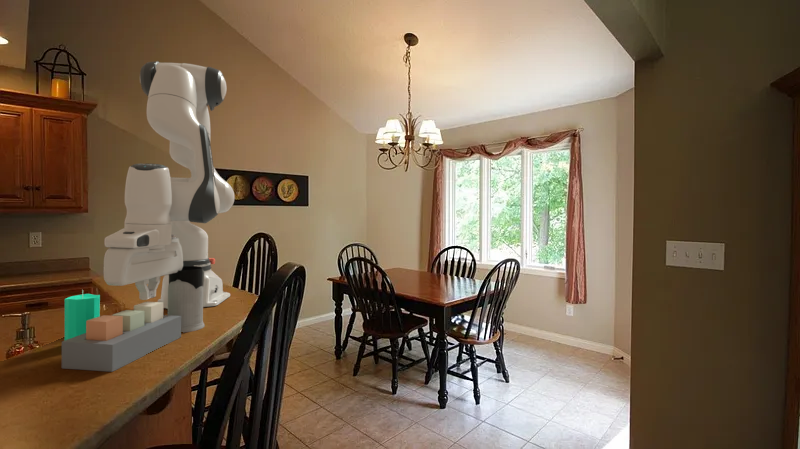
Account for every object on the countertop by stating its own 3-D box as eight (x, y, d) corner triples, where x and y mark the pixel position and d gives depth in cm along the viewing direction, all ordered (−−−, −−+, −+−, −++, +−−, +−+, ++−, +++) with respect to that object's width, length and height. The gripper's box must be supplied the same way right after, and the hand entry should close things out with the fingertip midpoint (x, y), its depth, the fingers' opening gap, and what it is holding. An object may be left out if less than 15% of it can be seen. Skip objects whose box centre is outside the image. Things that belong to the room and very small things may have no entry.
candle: (80, 350, 82) (80, 293, 82) (56, 347, 83) (56, 291, 83) (106, 341, 88) (107, 288, 88) (84, 339, 89) (84, 286, 89)
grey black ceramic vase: (157, 332, 96) (158, 270, 95) (186, 316, 110) (187, 262, 109) (195, 332, 96) (196, 271, 96) (218, 317, 110) (219, 263, 110)
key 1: (103, 345, 79) (103, 315, 79) (122, 346, 79) (122, 316, 79) (86, 352, 75) (86, 320, 75) (106, 353, 75) (106, 321, 75)
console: (140, 334, 93) (140, 313, 93) (180, 337, 93) (181, 315, 92) (61, 368, 73) (61, 341, 73) (112, 371, 73) (112, 344, 73)
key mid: (126, 337, 85) (126, 309, 85) (144, 338, 85) (144, 310, 85) (111, 343, 81) (111, 314, 81) (130, 345, 81) (130, 315, 81)
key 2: (146, 327, 91) (146, 301, 91) (163, 328, 91) (163, 302, 91) (133, 332, 87) (133, 305, 87) (150, 333, 87) (151, 306, 87)
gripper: (166, 233, 99) (165, 288, 99) (97, 239, 78) (96, 308, 79) (190, 234, 98) (189, 289, 99) (127, 240, 78) (126, 310, 78)
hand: (147, 298), depth 88 cm, fingers closed
